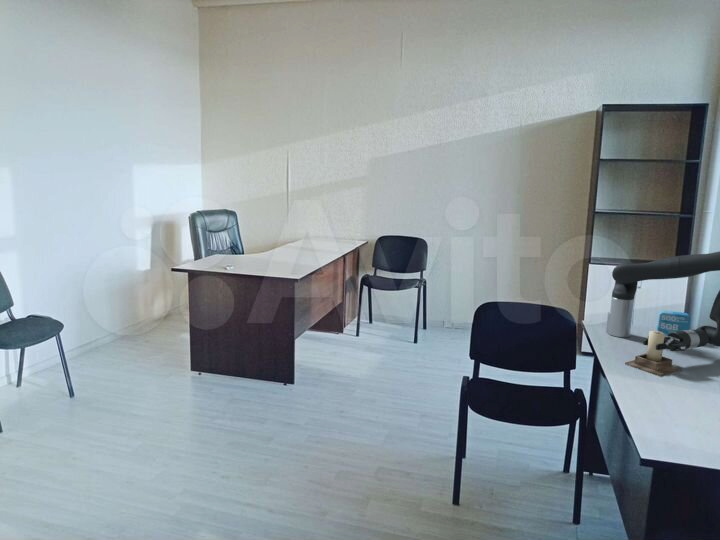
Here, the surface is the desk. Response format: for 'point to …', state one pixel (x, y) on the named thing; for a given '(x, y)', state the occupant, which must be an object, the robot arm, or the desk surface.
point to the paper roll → (653, 340)
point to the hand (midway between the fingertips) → (650, 344)
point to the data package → (672, 322)
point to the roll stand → (653, 365)
